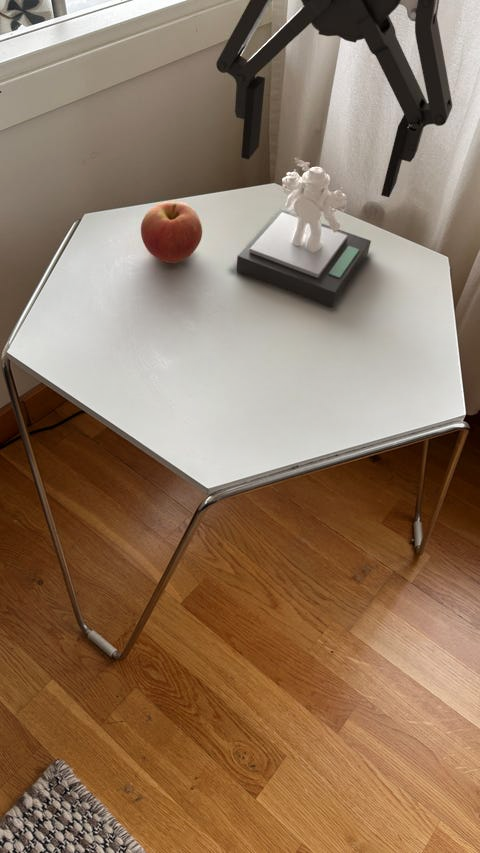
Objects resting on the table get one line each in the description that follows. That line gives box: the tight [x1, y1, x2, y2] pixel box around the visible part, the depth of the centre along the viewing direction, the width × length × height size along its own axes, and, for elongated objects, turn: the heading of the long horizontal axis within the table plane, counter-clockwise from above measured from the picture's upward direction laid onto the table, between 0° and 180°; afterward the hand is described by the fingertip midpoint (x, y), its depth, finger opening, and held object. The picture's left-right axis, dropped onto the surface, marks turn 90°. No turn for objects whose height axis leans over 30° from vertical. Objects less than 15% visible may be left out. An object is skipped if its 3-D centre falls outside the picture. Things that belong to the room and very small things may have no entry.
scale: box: [235, 208, 372, 308], centre depth 96 cm, size 14×13×3 cm
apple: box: [140, 201, 203, 264], centre depth 93 cm, size 8×8×8 cm
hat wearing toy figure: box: [281, 157, 348, 252], centre depth 90 cm, size 9×4×12 cm, turn 55°
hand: (317, 170), depth 66 cm, fingers open, 13 cm apart
